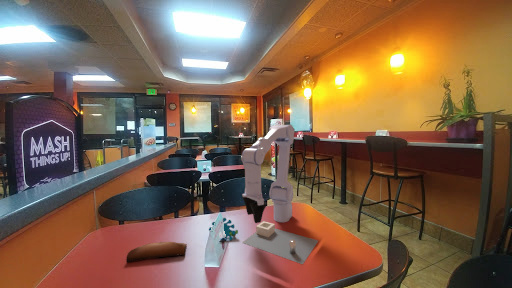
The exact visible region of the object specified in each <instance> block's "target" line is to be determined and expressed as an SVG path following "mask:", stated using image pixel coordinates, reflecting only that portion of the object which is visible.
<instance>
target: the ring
mask: <svg viewBox="0 0 512 288" xmlns="http://www.w3.org/2000/svg"><path fill="white" fill-rule="evenodd" d="M255 229H256V230H255V231H256V234H259V235H262V236H266V237H269V236H270V235H271V234H273V233H274V232H275V229H276V224H275V223H272V222H267V221H261V222H260V223H259V224H257V225H256V226H255Z"/></svg>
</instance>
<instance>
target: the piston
mask: <svg viewBox="0 0 512 288" xmlns="http://www.w3.org/2000/svg"><path fill="white" fill-rule="evenodd" d="M289 251H290V254H295V253H296V241H295V240H294V239H291V240H289Z"/></svg>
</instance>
